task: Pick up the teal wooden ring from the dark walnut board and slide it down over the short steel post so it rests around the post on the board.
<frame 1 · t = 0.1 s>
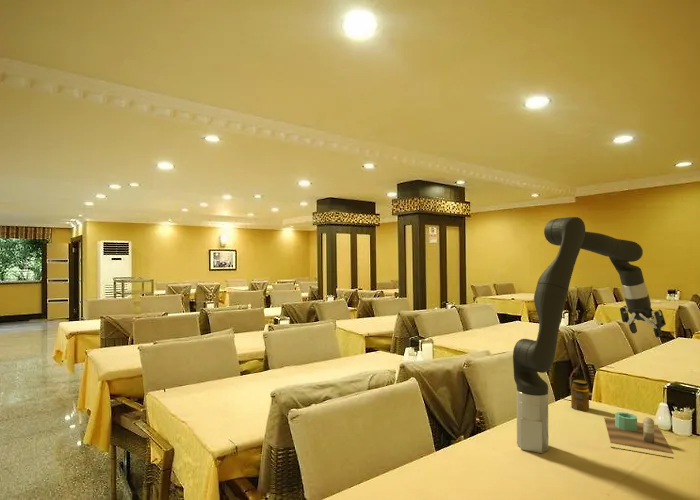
hand: (646, 334, 157), 31 cm above the table, tool tilted 20°, fingers open, 8 cm apart
condiment: (578, 413, 163), on the table
ring: (626, 427, 145), point 1 cm above the table, touching board
board: (635, 438, 140), on the table
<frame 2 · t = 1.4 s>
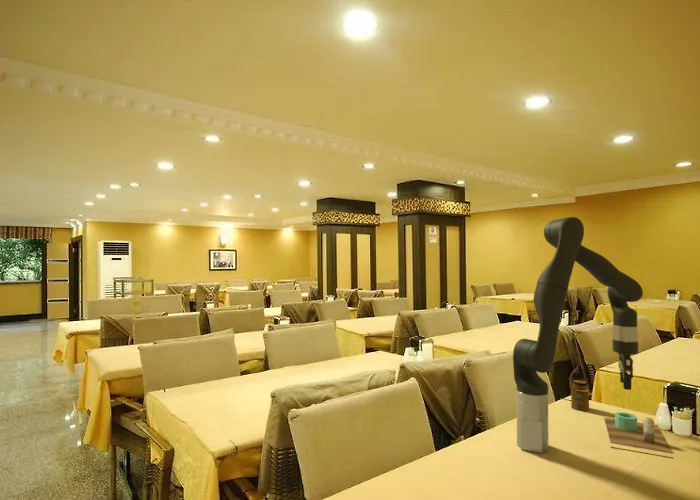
hand: (625, 385, 146), 16 cm above the table, tool pointing down, fingers open, 8 cm apart
nothing on the table moved.
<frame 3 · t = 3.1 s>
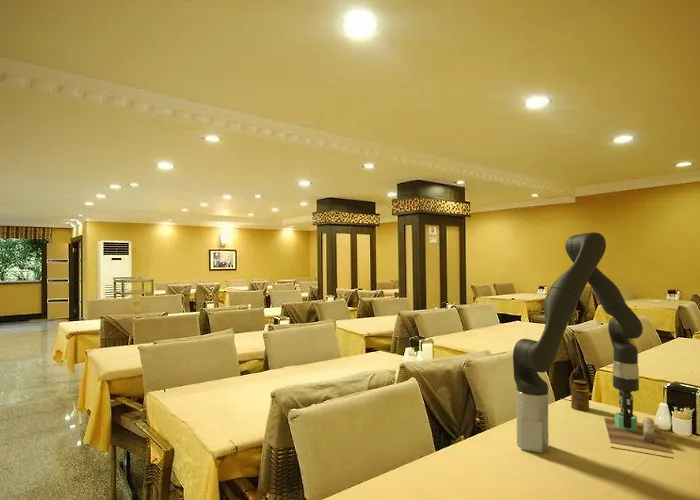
hand: (626, 423, 145), 3 cm above the table, tool pointing down, fingers closed on ring, 6 cm apart
ring: (626, 427, 145), point 2 cm above the table, touching board, gripper
everything else where it was.
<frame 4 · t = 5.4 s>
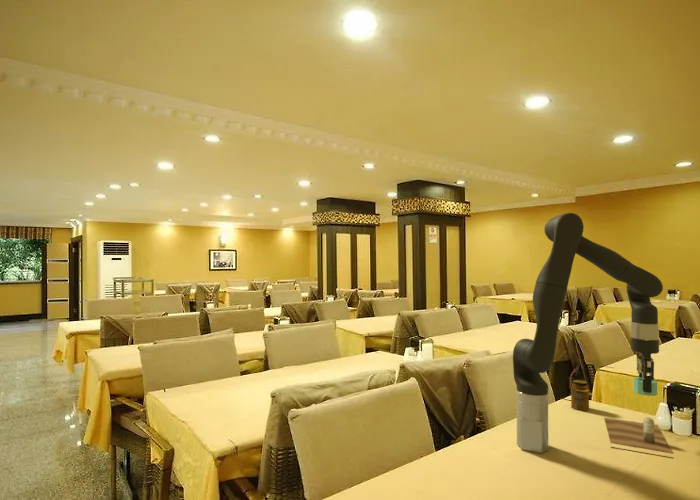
hand: (645, 388, 136), 18 cm above the table, tool pointing down, fingers closed on ring, 6 cm apart
ring: (645, 392, 136), point 16 cm above the table, touching gripper
everything else where it was.
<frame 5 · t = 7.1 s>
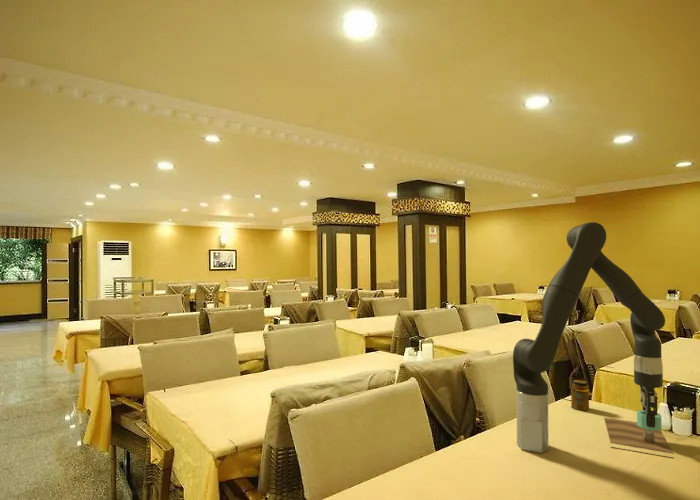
hand: (648, 422, 135), 7 cm above the table, tool pointing down, fingers closed on ring, 6 cm apart
ring: (649, 426, 135), point 6 cm above the table, touching gripper
everything else where it was.
when the fingers open (5 cm above the table, at t = 8.2 s): ring drops 2 cm, resting on board.
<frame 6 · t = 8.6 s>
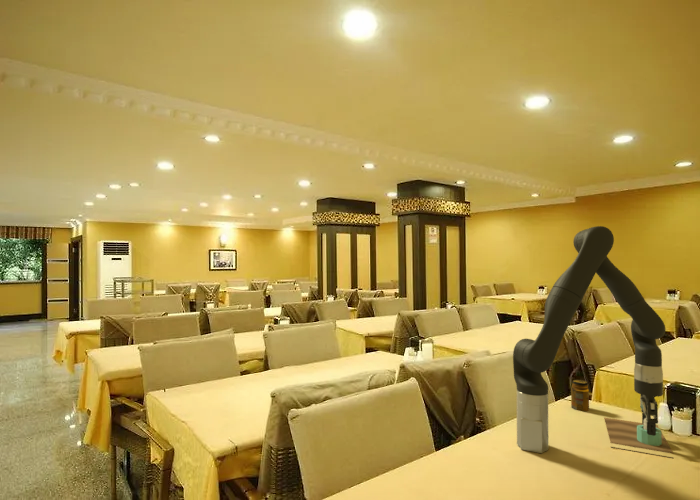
hand: (648, 429, 134), 5 cm above the table, tool pointing down, fingers open, 8 cm apart
ring: (649, 441, 134), point 1 cm above the table, touching board
everything else where it was.
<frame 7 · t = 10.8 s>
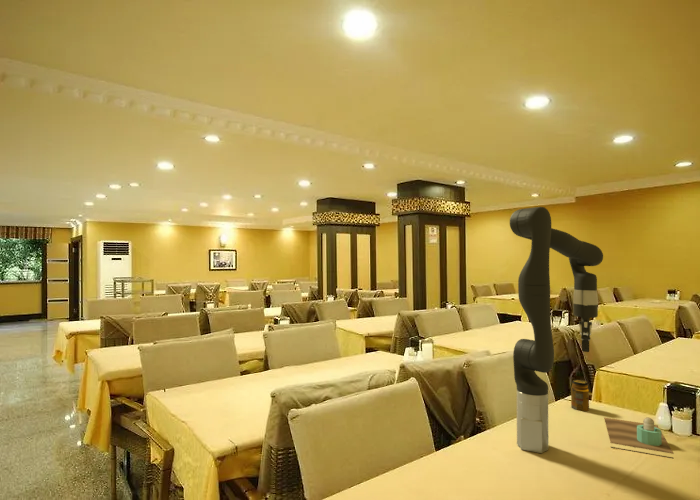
hand: (585, 349, 148), 28 cm above the table, tool pointing down, fingers open, 8 cm apart
nothing on the table moved.
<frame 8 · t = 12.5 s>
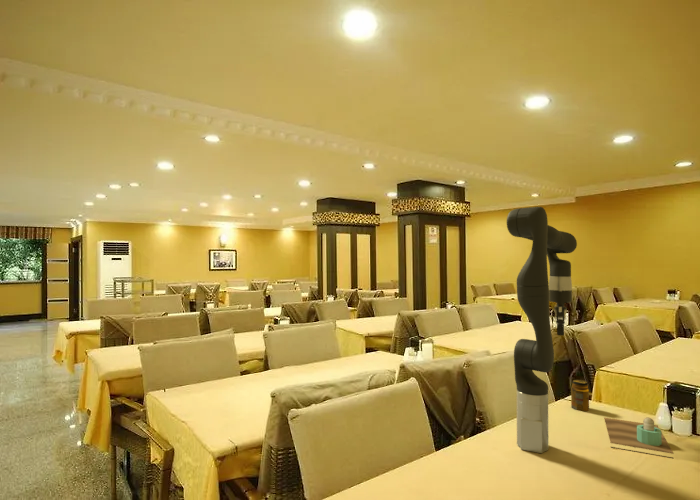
hand: (560, 333, 154), 32 cm above the table, tool pointing down, fingers open, 8 cm apart
nothing on the table moved.
at the end: ring 0.1 cm from the target spot on the board, point 1.5 cm above the board's base; the gripper is holding nothing; ring tilted 0° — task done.
